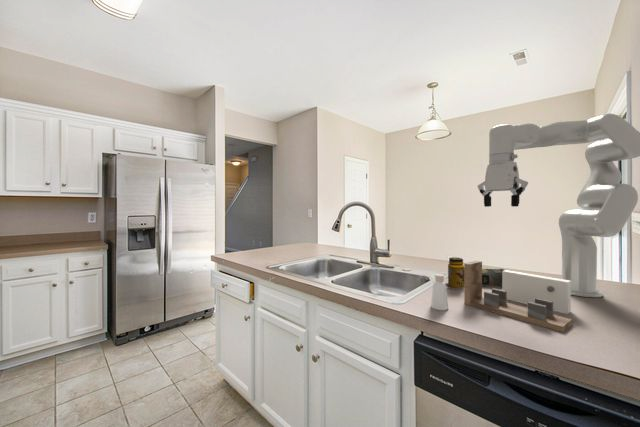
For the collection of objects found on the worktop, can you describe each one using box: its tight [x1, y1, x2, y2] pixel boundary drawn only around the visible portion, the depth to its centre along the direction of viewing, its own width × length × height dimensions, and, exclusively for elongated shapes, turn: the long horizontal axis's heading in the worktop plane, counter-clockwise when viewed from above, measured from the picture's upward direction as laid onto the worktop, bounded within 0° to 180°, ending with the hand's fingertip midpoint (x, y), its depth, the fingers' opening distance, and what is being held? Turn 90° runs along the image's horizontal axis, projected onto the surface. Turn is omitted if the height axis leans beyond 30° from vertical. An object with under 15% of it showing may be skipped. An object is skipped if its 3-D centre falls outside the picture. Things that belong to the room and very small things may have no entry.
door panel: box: [501, 269, 572, 315], centre depth 91 cm, size 4×18×10 cm, turn 34°
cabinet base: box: [463, 260, 573, 333], centre depth 84 cm, size 8×26×14 cm, turn 34°
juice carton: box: [482, 268, 505, 287], centre depth 117 cm, size 20×10×6 cm, turn 76°
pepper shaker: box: [430, 273, 449, 311], centre depth 90 cm, size 5×5×11 cm
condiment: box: [445, 256, 464, 290], centre depth 112 cm, size 7×8×12 cm
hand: (500, 206), depth 99 cm, fingers open, 9 cm apart
